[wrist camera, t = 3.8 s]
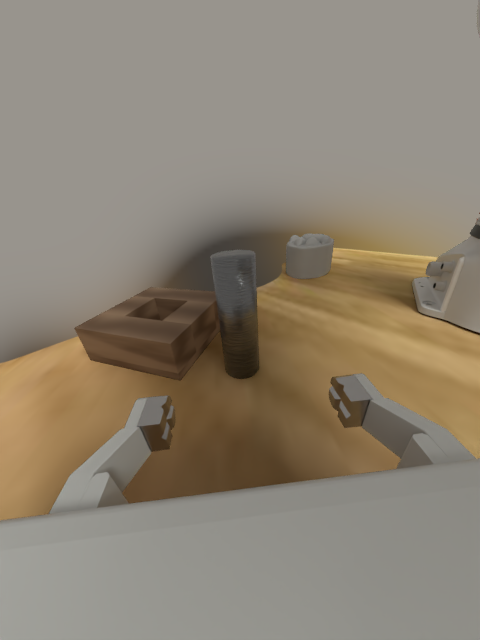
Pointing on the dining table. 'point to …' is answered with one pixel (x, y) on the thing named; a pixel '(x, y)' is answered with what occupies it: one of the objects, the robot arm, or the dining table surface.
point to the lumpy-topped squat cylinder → (309, 256)
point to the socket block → (153, 331)
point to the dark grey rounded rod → (237, 310)
